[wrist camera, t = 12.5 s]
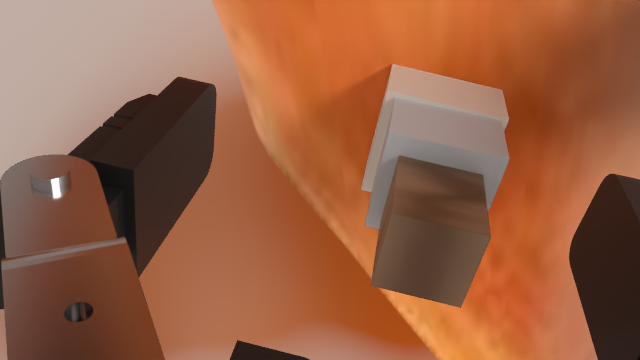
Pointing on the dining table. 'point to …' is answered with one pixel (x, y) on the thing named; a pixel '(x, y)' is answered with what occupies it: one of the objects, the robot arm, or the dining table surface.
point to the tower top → (438, 147)
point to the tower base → (434, 93)
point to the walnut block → (431, 232)
